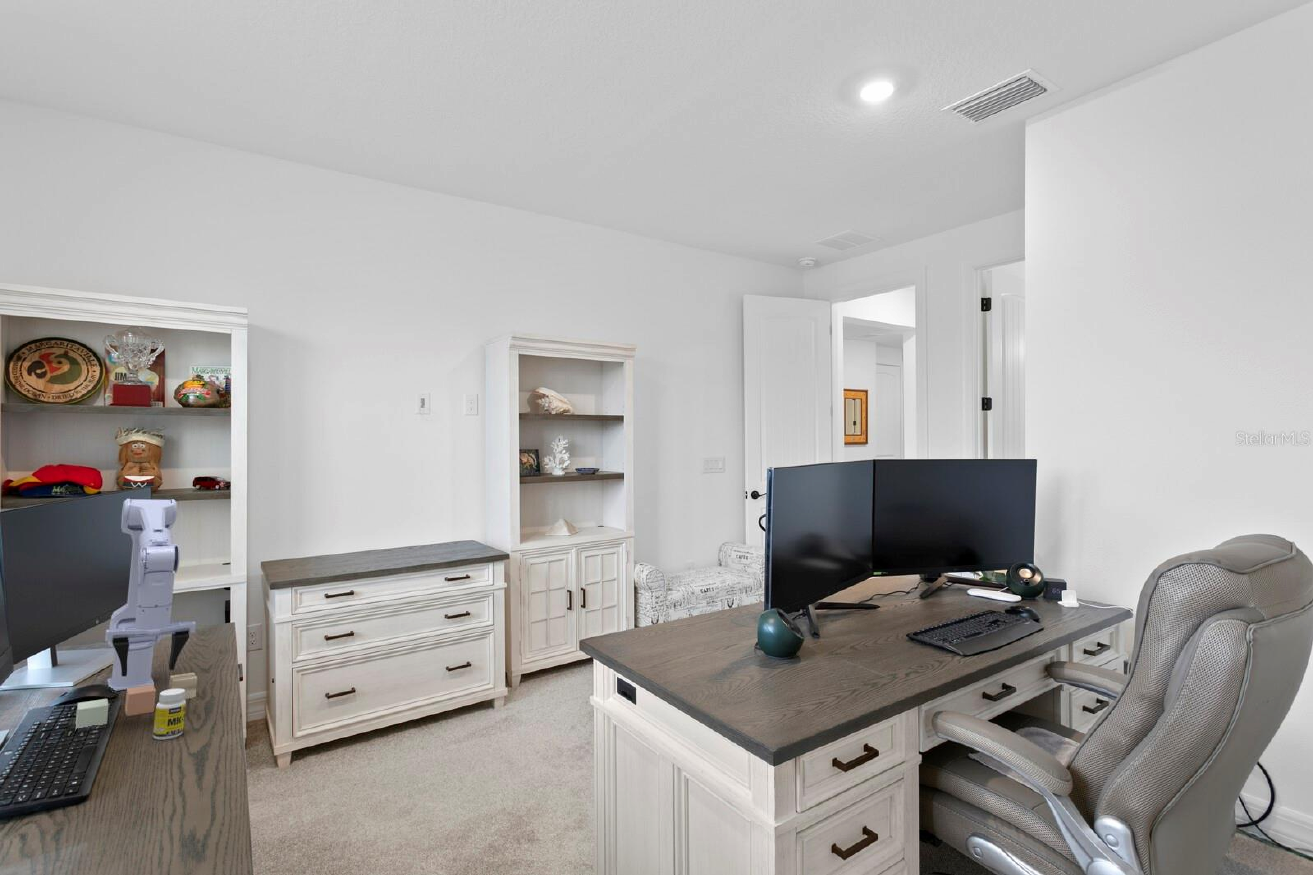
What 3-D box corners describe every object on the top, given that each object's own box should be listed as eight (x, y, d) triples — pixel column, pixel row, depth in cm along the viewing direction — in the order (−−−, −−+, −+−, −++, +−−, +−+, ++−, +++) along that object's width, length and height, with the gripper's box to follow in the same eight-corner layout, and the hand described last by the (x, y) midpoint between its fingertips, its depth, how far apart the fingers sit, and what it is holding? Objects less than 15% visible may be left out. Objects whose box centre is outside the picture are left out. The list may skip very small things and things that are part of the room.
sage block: (75, 726, 129) (77, 703, 130) (104, 721, 132) (107, 698, 133) (76, 733, 126) (78, 709, 126) (106, 728, 129) (108, 705, 129)
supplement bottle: (166, 741, 124) (170, 697, 125) (146, 738, 125) (150, 694, 126) (189, 732, 129) (193, 689, 129) (169, 729, 130) (173, 686, 130)
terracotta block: (124, 710, 138) (126, 688, 139) (151, 705, 141) (153, 684, 142) (126, 716, 135) (128, 694, 135) (153, 712, 138) (155, 690, 138)
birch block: (168, 696, 147) (170, 675, 148) (192, 692, 151) (194, 672, 151) (171, 701, 144) (172, 681, 144) (195, 697, 147) (197, 677, 147)
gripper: (109, 612, 126) (102, 683, 125) (200, 604, 136) (194, 671, 135) (107, 605, 131) (100, 673, 130) (195, 598, 141) (189, 662, 140)
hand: (148, 671), depth 133 cm, fingers open, 7 cm apart
